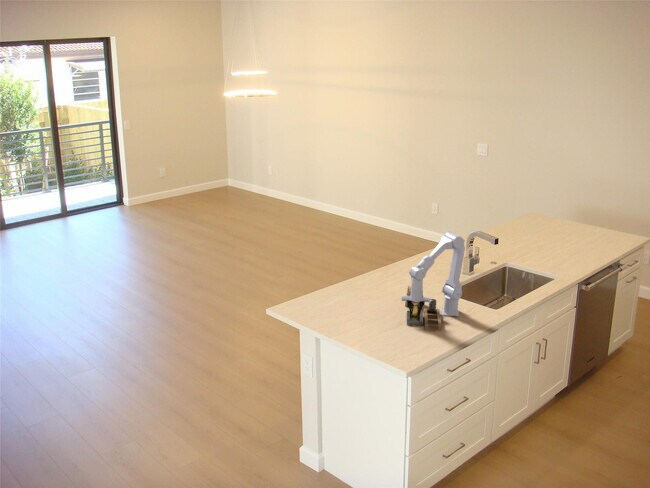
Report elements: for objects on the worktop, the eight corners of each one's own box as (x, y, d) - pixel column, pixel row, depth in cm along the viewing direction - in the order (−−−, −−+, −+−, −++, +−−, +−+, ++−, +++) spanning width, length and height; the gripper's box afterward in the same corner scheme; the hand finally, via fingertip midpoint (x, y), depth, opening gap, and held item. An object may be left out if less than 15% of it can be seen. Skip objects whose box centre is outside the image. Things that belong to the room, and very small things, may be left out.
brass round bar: (411, 318, 369) (412, 302, 366) (418, 319, 369) (419, 303, 366) (411, 321, 366) (412, 305, 363) (418, 322, 365) (419, 305, 363)
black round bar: (428, 314, 375) (429, 298, 372) (435, 315, 374) (436, 299, 371) (428, 317, 371) (429, 301, 368) (435, 317, 371) (436, 301, 368)
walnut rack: (423, 312, 377) (424, 308, 376) (439, 313, 376) (439, 309, 375) (424, 329, 357) (425, 325, 356) (441, 330, 356) (441, 326, 355)
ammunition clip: (407, 307, 383) (408, 286, 379) (405, 306, 384) (406, 285, 380) (422, 303, 388) (424, 283, 384) (420, 302, 390) (422, 282, 386)
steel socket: (406, 315, 373) (406, 310, 372) (422, 316, 373) (422, 311, 372) (406, 324, 362) (407, 320, 361) (422, 325, 361) (423, 321, 360)
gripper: (402, 291, 359) (400, 316, 363) (431, 293, 357) (429, 318, 362) (402, 286, 365) (400, 311, 370) (430, 288, 364) (429, 312, 368)
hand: (414, 314), depth 366 cm, fingers closed on brass round bar, 4 cm apart
